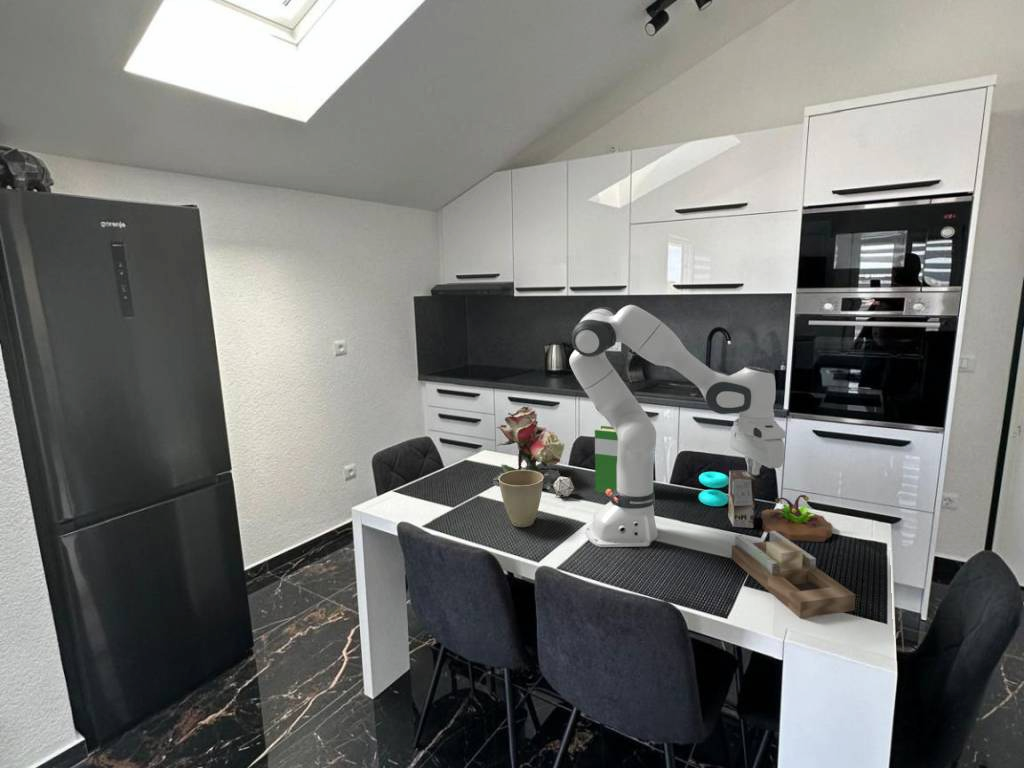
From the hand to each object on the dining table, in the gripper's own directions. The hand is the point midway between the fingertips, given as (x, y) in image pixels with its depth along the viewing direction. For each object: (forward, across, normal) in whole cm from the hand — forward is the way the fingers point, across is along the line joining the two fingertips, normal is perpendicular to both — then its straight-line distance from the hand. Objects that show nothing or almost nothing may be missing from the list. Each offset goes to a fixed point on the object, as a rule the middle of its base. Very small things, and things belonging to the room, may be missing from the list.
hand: (753, 473), depth 151 cm
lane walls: (+20, +11, 0) cm, 22 cm away
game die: (+25, -54, -41) cm, 72 cm away
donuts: (+24, -36, +9) cm, 44 cm away
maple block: (+20, +15, 0) cm, 25 cm away
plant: (+24, -12, +23) cm, 35 cm away
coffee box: (+24, -19, +9) cm, 32 cm away
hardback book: (+24, -54, -19) cm, 62 cm away
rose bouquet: (+25, -77, -49) cm, 94 cm away
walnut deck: (+24, +17, 0) cm, 29 cm away
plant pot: (+25, -35, -60) cm, 74 cm away
